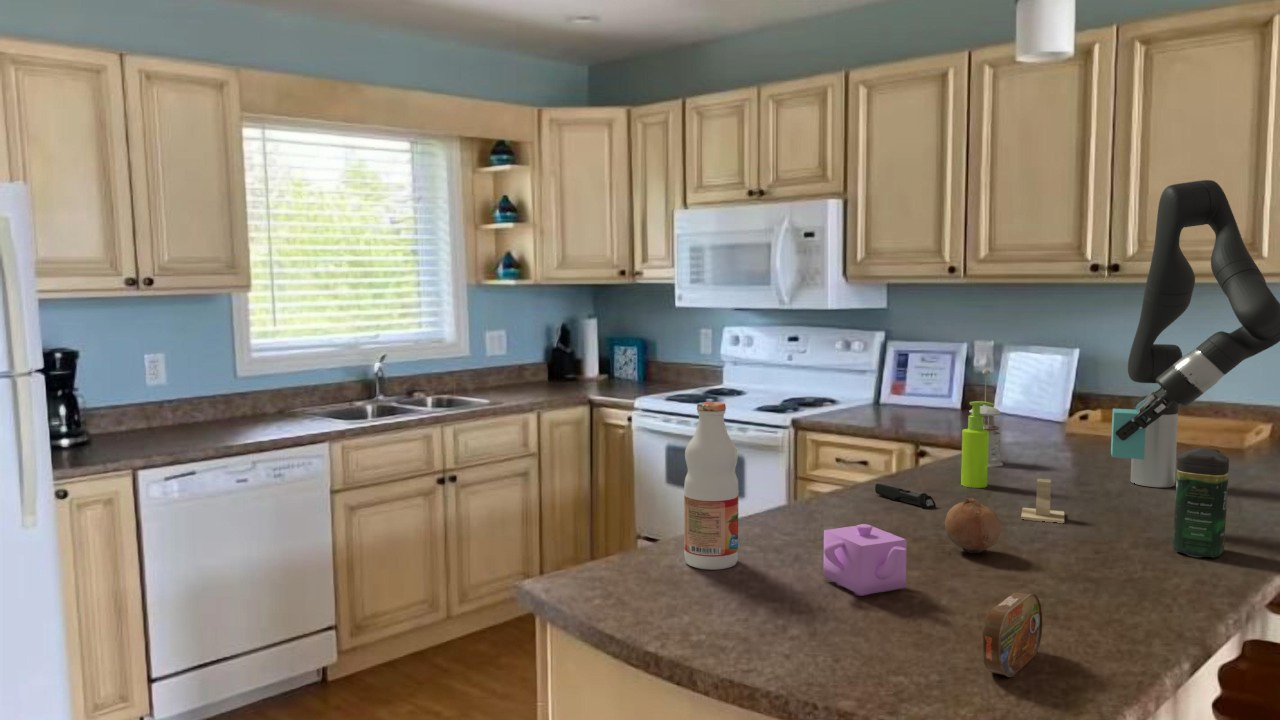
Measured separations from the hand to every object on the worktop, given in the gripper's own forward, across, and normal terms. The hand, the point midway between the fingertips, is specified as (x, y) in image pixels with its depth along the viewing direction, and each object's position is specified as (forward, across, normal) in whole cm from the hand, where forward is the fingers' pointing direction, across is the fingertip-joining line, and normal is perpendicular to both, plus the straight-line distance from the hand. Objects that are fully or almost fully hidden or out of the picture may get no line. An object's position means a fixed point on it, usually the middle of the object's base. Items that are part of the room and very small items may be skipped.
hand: (1118, 434), depth 185 cm
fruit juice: (+59, +58, -34) cm, 89 cm away
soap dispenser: (+33, -23, -7) cm, 41 cm away
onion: (+30, +34, -5) cm, 46 cm away
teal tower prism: (+2, 0, +4) cm, 5 cm away
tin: (+23, +82, +1) cm, 85 cm away
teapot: (+40, +61, -15) cm, 74 cm away
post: (+22, +2, +3) cm, 22 cm away
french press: (+33, -52, -7) cm, 62 cm away
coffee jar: (+4, +17, +22) cm, 28 cm away
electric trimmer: (+42, 0, -16) cm, 45 cm away
